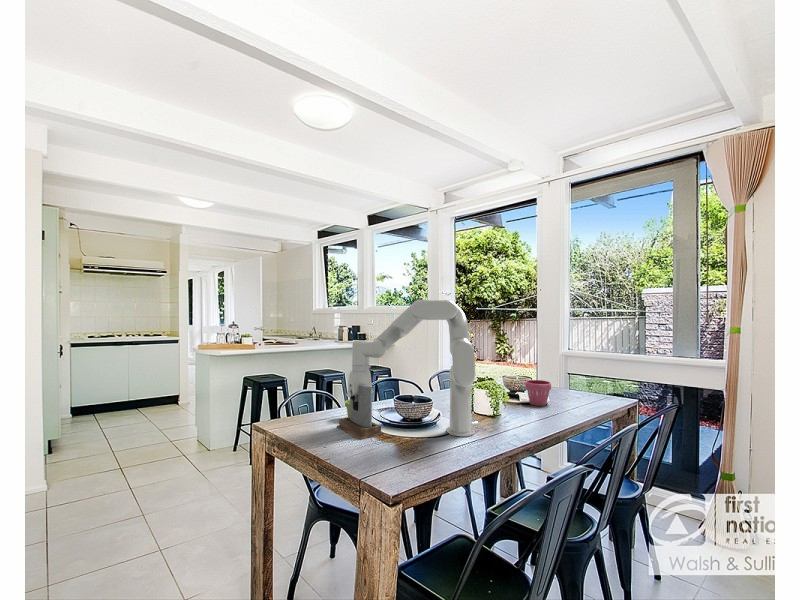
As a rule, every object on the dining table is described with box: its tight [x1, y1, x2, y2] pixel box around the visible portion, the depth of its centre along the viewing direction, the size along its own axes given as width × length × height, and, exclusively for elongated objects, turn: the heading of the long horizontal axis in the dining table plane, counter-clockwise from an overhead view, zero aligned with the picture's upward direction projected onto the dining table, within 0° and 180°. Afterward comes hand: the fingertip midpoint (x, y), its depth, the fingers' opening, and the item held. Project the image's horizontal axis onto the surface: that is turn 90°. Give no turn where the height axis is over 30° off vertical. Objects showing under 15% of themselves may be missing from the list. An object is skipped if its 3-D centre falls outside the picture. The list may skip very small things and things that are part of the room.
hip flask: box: [349, 385, 373, 427], centre depth 190 cm, size 16×4×20 cm, turn 36°
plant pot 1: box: [344, 399, 350, 417], centre depth 209 cm, size 9×9×9 cm
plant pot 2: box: [524, 379, 552, 407], centre depth 245 cm, size 14×14×13 cm
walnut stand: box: [336, 416, 384, 440], centre depth 190 cm, size 12×20×4 cm, turn 37°
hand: (359, 408), depth 190 cm, fingers closed on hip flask, 3 cm apart
